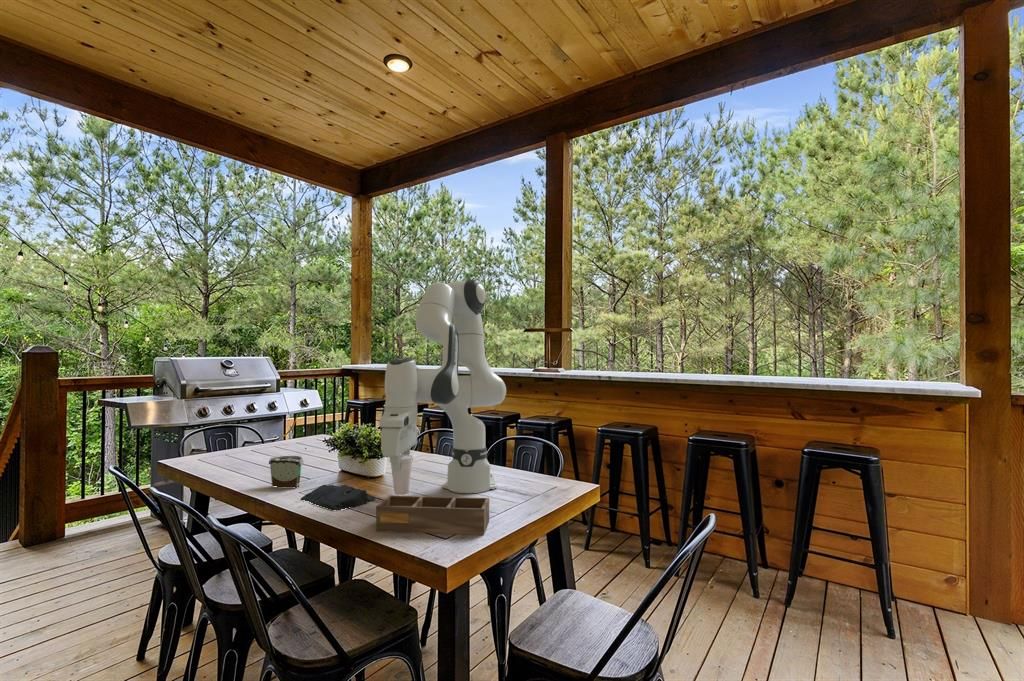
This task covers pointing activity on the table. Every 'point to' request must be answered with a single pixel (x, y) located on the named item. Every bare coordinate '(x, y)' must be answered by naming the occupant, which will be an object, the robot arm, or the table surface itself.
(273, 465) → the food container
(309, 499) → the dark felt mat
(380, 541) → the table surface
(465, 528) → the caddy
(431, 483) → the table surface
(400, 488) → the smoothie
